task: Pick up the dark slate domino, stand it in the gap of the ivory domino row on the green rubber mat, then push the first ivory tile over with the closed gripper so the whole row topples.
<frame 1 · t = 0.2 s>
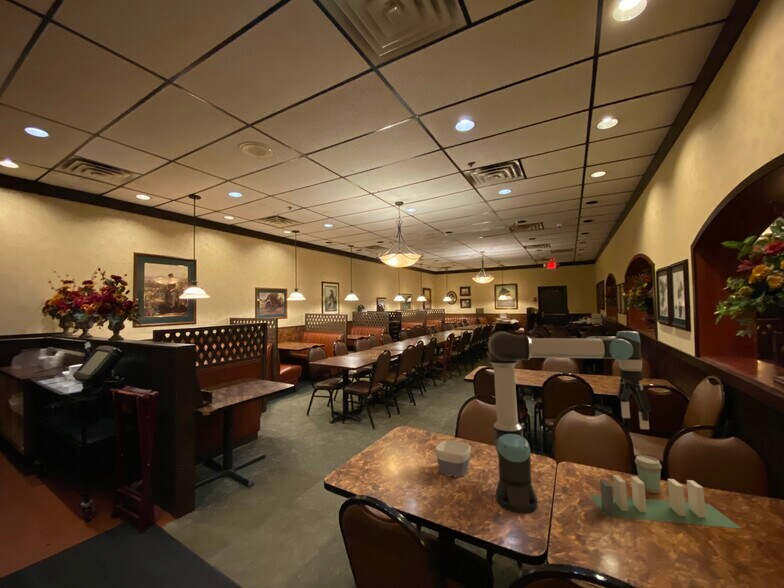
hand: (634, 423, 128), 27 cm above the table, fingers open, 13 cm apart
domino 4: (677, 511, 114), resting on mat
domino 2: (639, 508, 116), resting on mat
domino 5: (697, 513, 113), resting on mat
domino 1: (621, 506, 118), resting on mat
coffee cup: (650, 490, 129), on the table
slate domino: (608, 511, 115), resting on mat
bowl: (453, 471, 148), on the table
mat: (658, 511, 115), on the table
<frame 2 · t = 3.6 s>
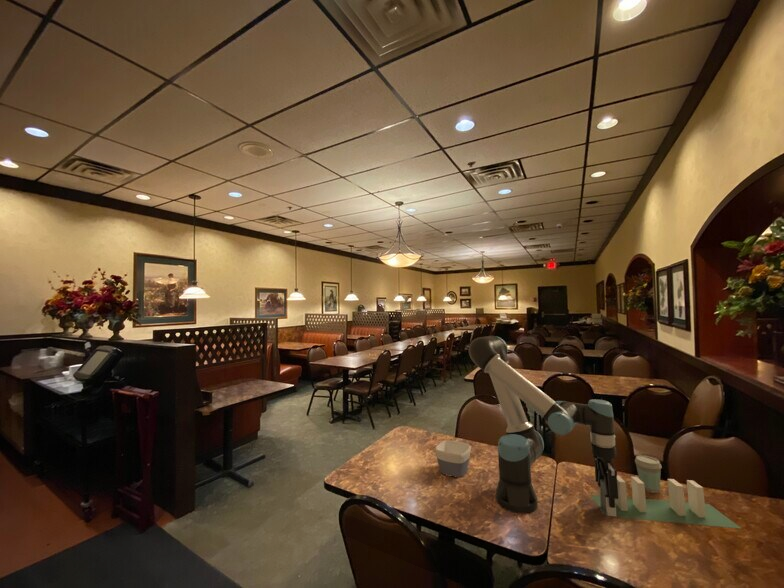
hand: (607, 510, 115), 1 cm above the table, fingers closed on slate domino, 5 cm apart
slate domino: (608, 511, 115), resting on mat, touching gripper
everything else where it was.
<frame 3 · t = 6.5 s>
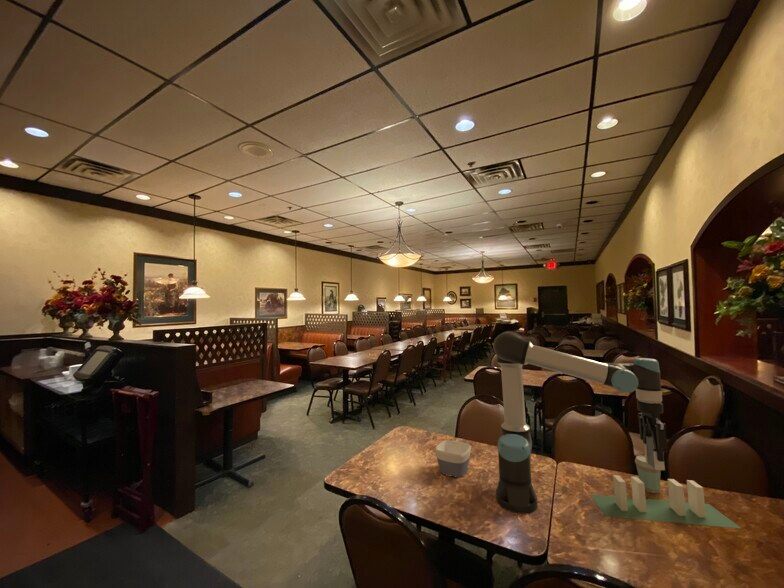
hand: (655, 465, 116), 16 cm above the table, fingers closed on slate domino, 5 cm apart
slate domino: (655, 466, 116), point 15 cm above the table, touching gripper
everything else where it was.
when the fingers open (2 cm above the table, at t = 9.2 s): slate domino drops 1 cm, resting on mat.
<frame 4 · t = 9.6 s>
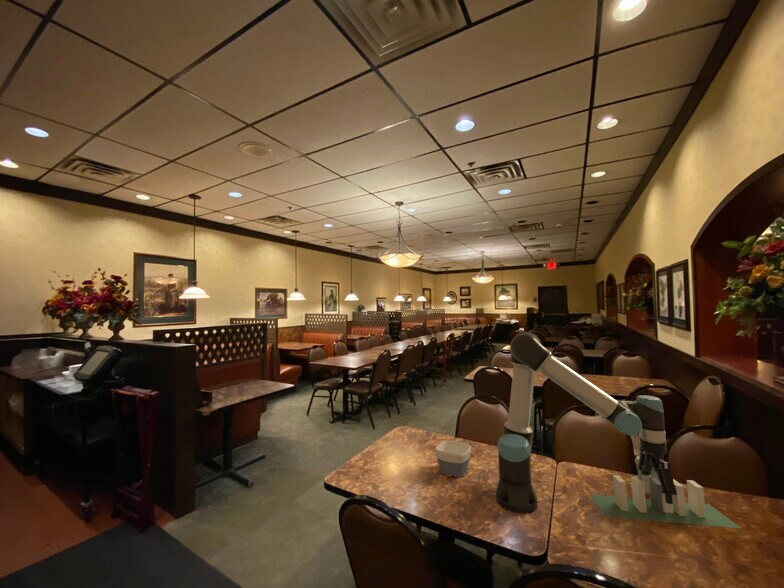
hand: (657, 502, 115), 3 cm above the table, fingers open, 11 cm apart
slate domino: (658, 509, 115), resting on mat
everything else where it was.
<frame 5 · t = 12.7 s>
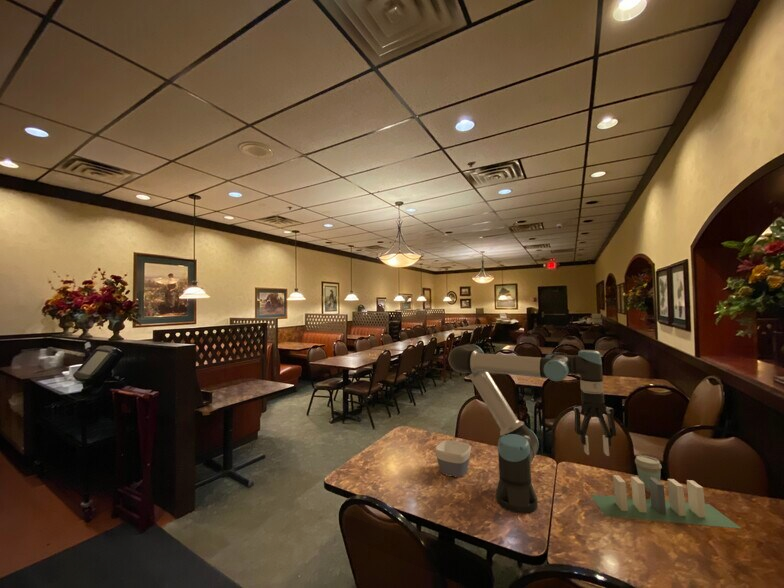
hand: (596, 453, 120), 19 cm above the table, fingers open, 6 cm apart
nothing on the table moved.
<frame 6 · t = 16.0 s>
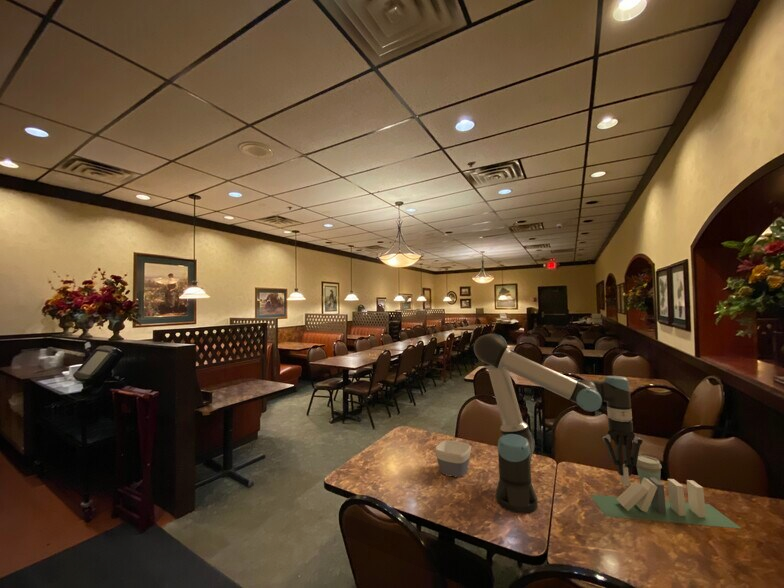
hand: (625, 484, 118), 9 cm above the table, fingers closed
domino 2: (639, 507, 116), point 1 cm above the table, tilted 24°, touching mat, slate domino
domino 1: (622, 504, 118), point 1 cm above the table, tilted 44°, touching mat
slate domino: (658, 509, 115), resting on mat, touching domino 2
everything else where it was.
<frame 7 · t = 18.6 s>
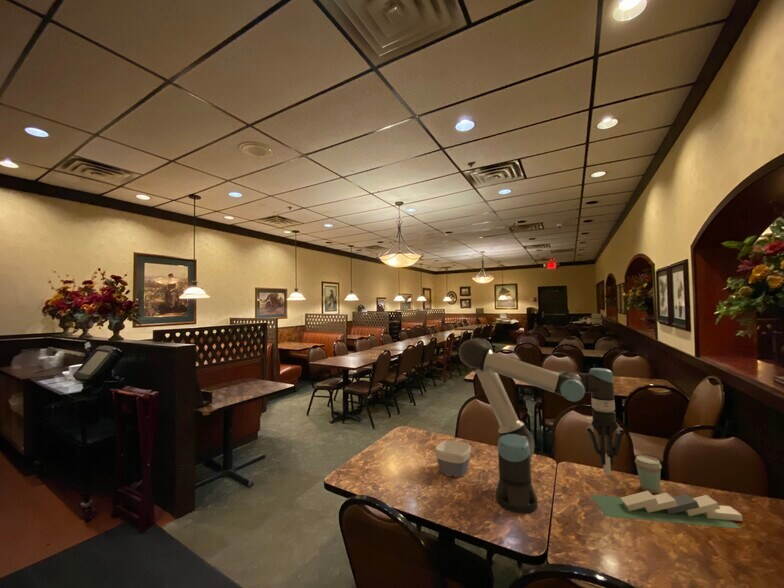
hand: (607, 473, 121), 11 cm above the table, fingers closed
domino 4: (683, 509, 114), point 1 cm above the table, tilted 70°, touching domino 5, mat, slate domino
domino 2: (642, 505, 116), point 1 cm above the table, tilted 71°, touching domino 1, mat, slate domino
domino 5: (702, 510, 113), point 1 cm above the table, tilted 90°, touching domino 4, mat
domino 1: (624, 504, 117), point 1 cm above the table, tilted 70°, touching domino 2, mat
slate domino: (663, 507, 115), point 1 cm above the table, tilted 71°, touching domino 2, domino 4, mat
everything else where it was.
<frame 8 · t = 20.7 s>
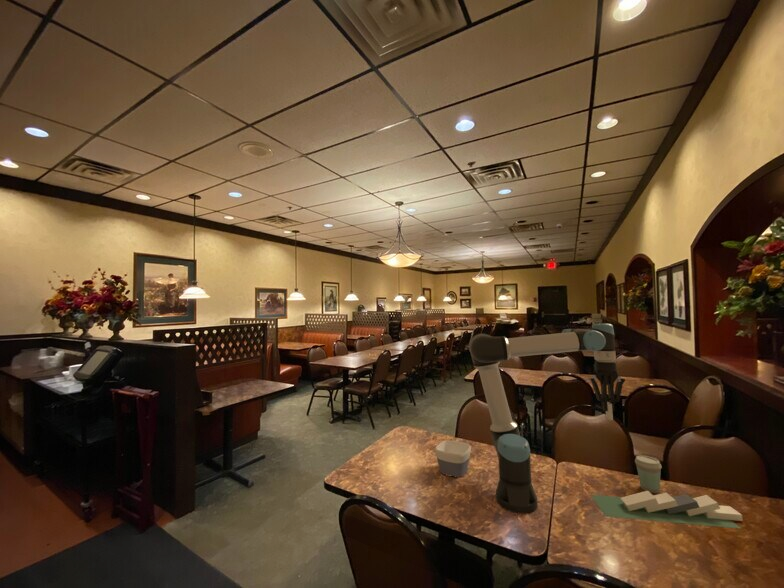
hand: (609, 419, 131), 28 cm above the table, fingers closed
nothing on the table moved.
at the end: domino 5 tilted 90°; slate domino tilted 71°; slate domino inside the target area (0.4 cm from its centre), point 1.3 cm above the table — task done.
